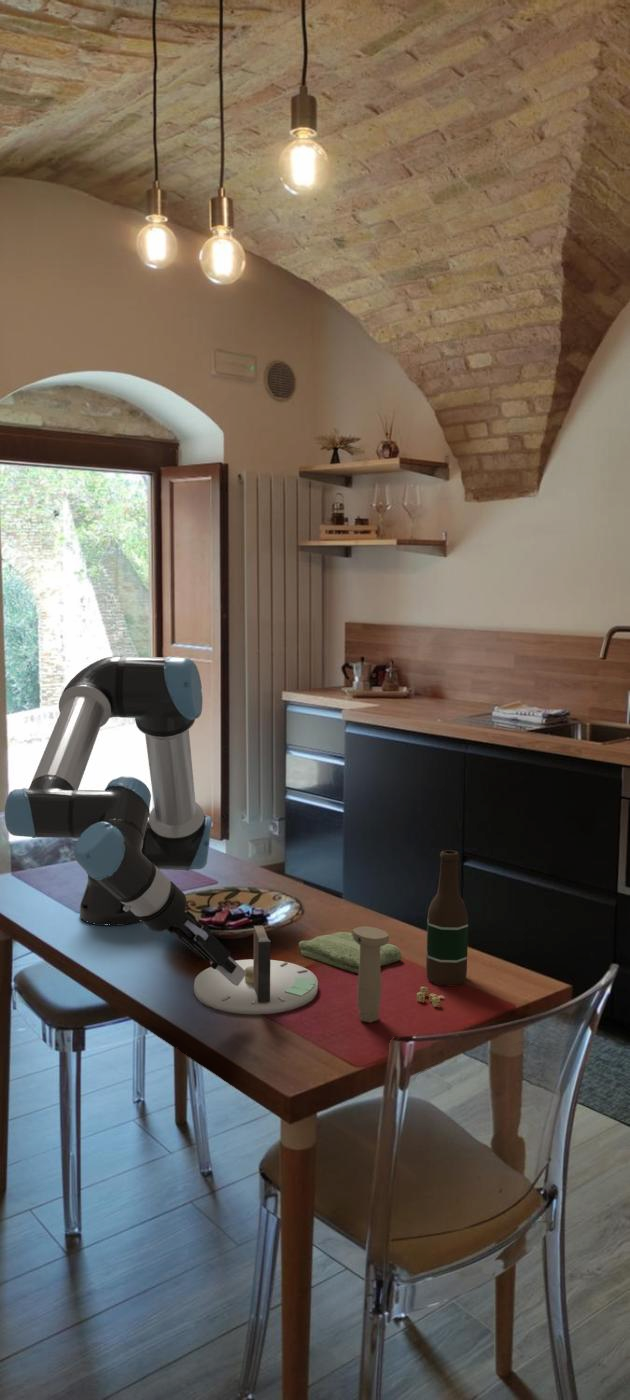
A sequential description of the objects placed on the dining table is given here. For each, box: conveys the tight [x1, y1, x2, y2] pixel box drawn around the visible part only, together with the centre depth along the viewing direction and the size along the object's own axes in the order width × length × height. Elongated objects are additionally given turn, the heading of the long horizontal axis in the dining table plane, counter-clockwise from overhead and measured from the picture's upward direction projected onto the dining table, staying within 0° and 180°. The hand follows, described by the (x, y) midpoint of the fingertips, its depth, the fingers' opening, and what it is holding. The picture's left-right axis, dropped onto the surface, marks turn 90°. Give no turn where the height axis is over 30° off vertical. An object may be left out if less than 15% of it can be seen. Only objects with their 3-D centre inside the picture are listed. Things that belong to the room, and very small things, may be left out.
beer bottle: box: [425, 849, 469, 986], centre depth 193 cm, size 8×8×24 cm
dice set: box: [416, 986, 445, 1007], centre depth 185 cm, size 5×5×2 cm
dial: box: [193, 958, 319, 1015], centre depth 188 cm, size 22×22×2 cm
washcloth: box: [298, 931, 402, 974], centre depth 206 cm, size 13×18×3 cm
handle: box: [352, 925, 390, 1024], centre depth 175 cm, size 5×6×15 cm
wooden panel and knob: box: [245, 925, 272, 1003], centre depth 183 cm, size 13×4×11 cm, turn 10°
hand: (239, 978), depth 176 cm, fingers closed
